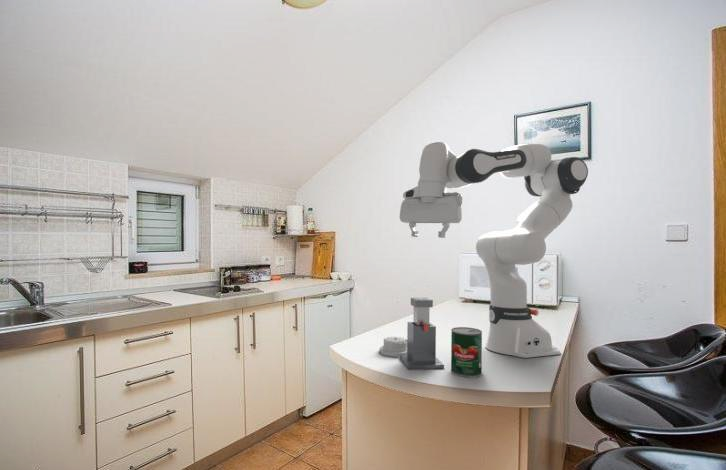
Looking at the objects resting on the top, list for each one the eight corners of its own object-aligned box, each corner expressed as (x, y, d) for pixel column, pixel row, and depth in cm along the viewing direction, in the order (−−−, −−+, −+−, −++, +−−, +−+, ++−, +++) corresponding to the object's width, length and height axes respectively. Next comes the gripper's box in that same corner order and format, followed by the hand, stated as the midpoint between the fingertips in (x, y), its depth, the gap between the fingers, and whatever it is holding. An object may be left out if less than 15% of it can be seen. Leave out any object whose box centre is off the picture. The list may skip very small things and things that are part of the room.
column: (426, 356, 102) (427, 297, 103) (432, 361, 97) (432, 300, 98) (410, 356, 102) (410, 297, 102) (414, 361, 97) (415, 300, 98)
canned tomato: (455, 377, 89) (455, 333, 89) (447, 366, 97) (447, 326, 97) (486, 377, 89) (486, 334, 90) (476, 367, 97) (476, 327, 97)
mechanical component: (412, 358, 104) (410, 349, 114) (412, 343, 105) (411, 335, 114) (378, 357, 105) (380, 348, 115) (378, 342, 106) (380, 334, 115)
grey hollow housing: (432, 357, 105) (432, 317, 106) (444, 368, 95) (444, 324, 96) (399, 358, 104) (400, 317, 104) (408, 369, 94) (408, 324, 94)
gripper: (466, 194, 106) (463, 239, 105) (409, 197, 119) (405, 237, 118) (458, 189, 101) (454, 236, 100) (398, 193, 114) (395, 235, 113)
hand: (427, 237), depth 109 cm, fingers open, 8 cm apart
